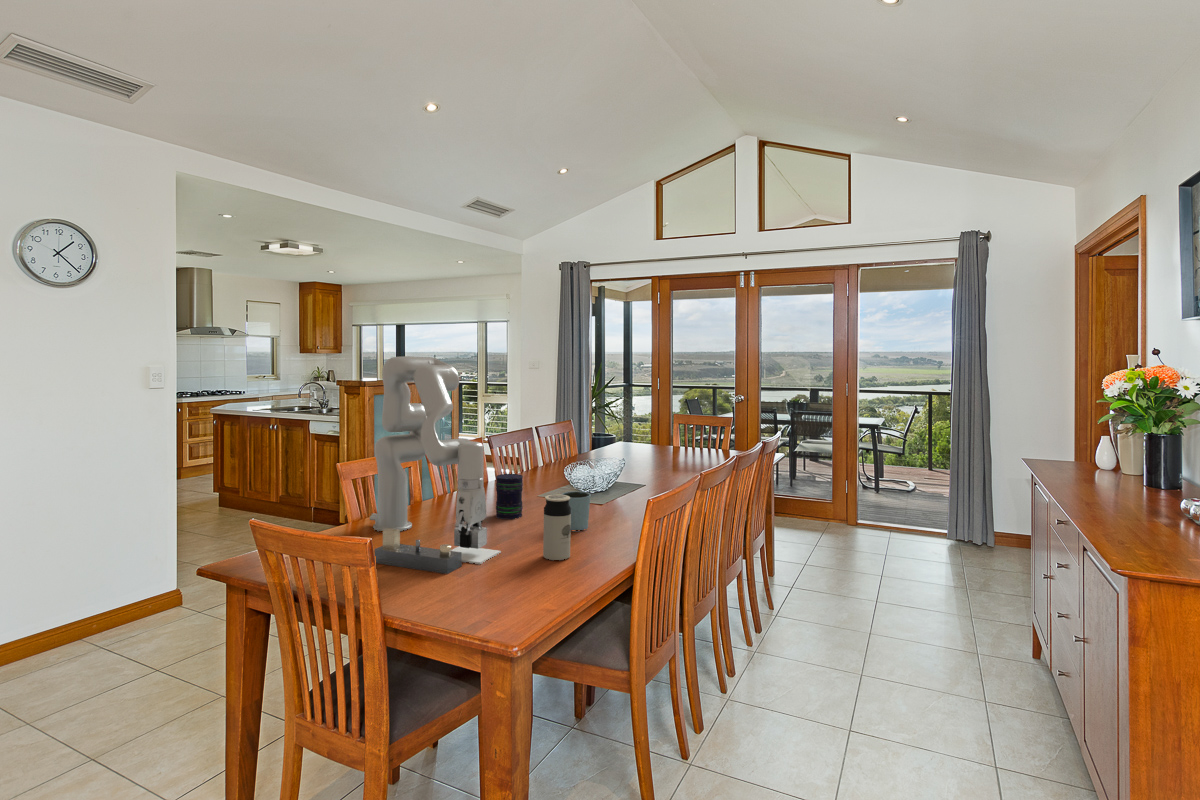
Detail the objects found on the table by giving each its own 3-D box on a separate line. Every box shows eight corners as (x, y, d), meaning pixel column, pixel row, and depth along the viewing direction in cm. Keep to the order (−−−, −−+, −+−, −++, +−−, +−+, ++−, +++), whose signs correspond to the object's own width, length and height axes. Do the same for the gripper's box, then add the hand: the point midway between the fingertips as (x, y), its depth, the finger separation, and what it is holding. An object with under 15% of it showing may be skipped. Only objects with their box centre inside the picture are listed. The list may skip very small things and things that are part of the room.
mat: (438, 558, 187) (438, 556, 187) (460, 547, 198) (460, 545, 198) (480, 564, 182) (480, 562, 182) (500, 552, 193) (500, 550, 193)
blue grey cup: (591, 525, 227) (592, 491, 227) (588, 533, 217) (588, 498, 217) (563, 524, 228) (563, 490, 228) (558, 531, 218) (559, 496, 218)
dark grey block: (374, 562, 182) (374, 531, 181) (390, 555, 188) (390, 525, 188) (447, 574, 174) (447, 541, 173) (461, 566, 180) (461, 534, 180)
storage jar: (492, 514, 241) (492, 474, 240) (517, 511, 245) (518, 473, 244) (499, 520, 232) (500, 479, 231) (525, 518, 236) (526, 477, 235)
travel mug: (537, 556, 191) (538, 496, 190) (559, 551, 196) (560, 493, 195) (553, 563, 185) (554, 501, 184) (575, 557, 190) (576, 497, 189)
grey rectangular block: (454, 545, 189) (454, 528, 189) (463, 541, 194) (463, 524, 193) (478, 548, 186) (478, 531, 186) (486, 544, 191) (486, 527, 190)
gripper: (466, 490, 179) (466, 554, 181) (496, 480, 195) (495, 538, 197) (443, 488, 182) (443, 551, 183) (474, 478, 198) (474, 536, 199)
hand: (470, 544), depth 190 cm, fingers closed on grey rectangular block, 5 cm apart
